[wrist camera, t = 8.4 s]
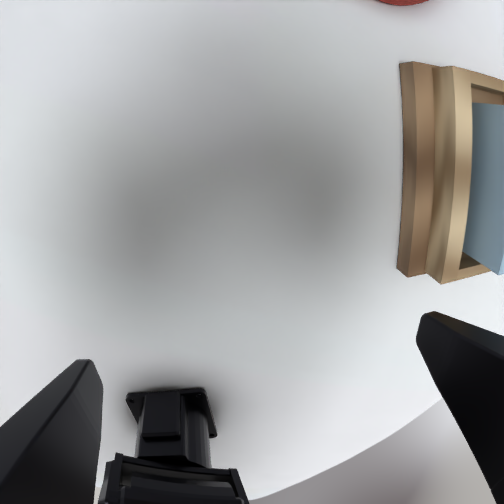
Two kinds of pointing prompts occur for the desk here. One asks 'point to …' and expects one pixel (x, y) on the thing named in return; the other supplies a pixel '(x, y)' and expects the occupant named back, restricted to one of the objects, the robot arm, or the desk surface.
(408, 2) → the stacking bear
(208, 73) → the desk surface
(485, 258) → the blue slab
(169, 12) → the desk surface
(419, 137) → the jig
